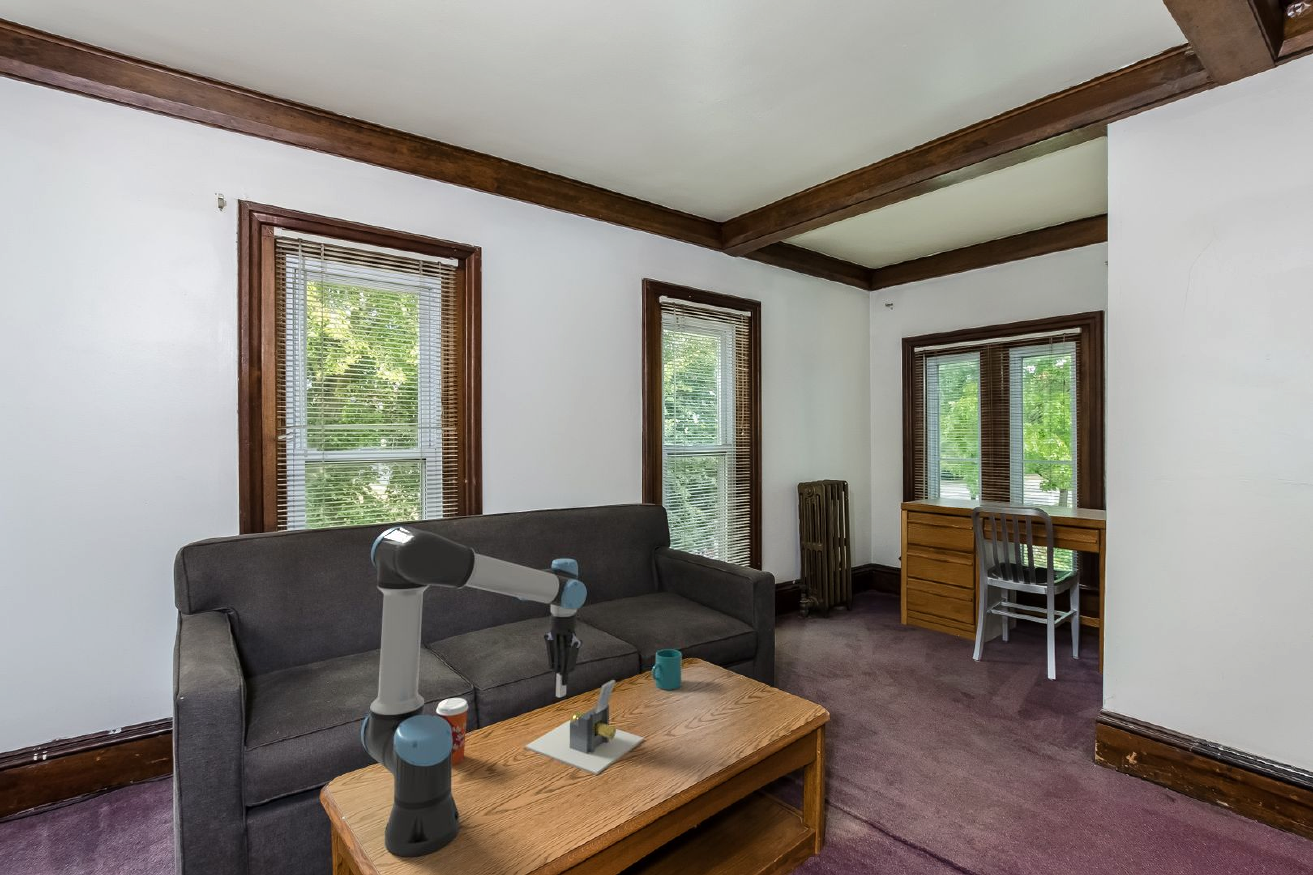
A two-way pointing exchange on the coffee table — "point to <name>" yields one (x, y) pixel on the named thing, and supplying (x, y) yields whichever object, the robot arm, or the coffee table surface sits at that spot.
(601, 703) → the grey flat brushed plate
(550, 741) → the mat
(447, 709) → the coffee cup
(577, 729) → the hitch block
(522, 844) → the coffee table surface
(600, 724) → the pin
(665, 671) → the cup
